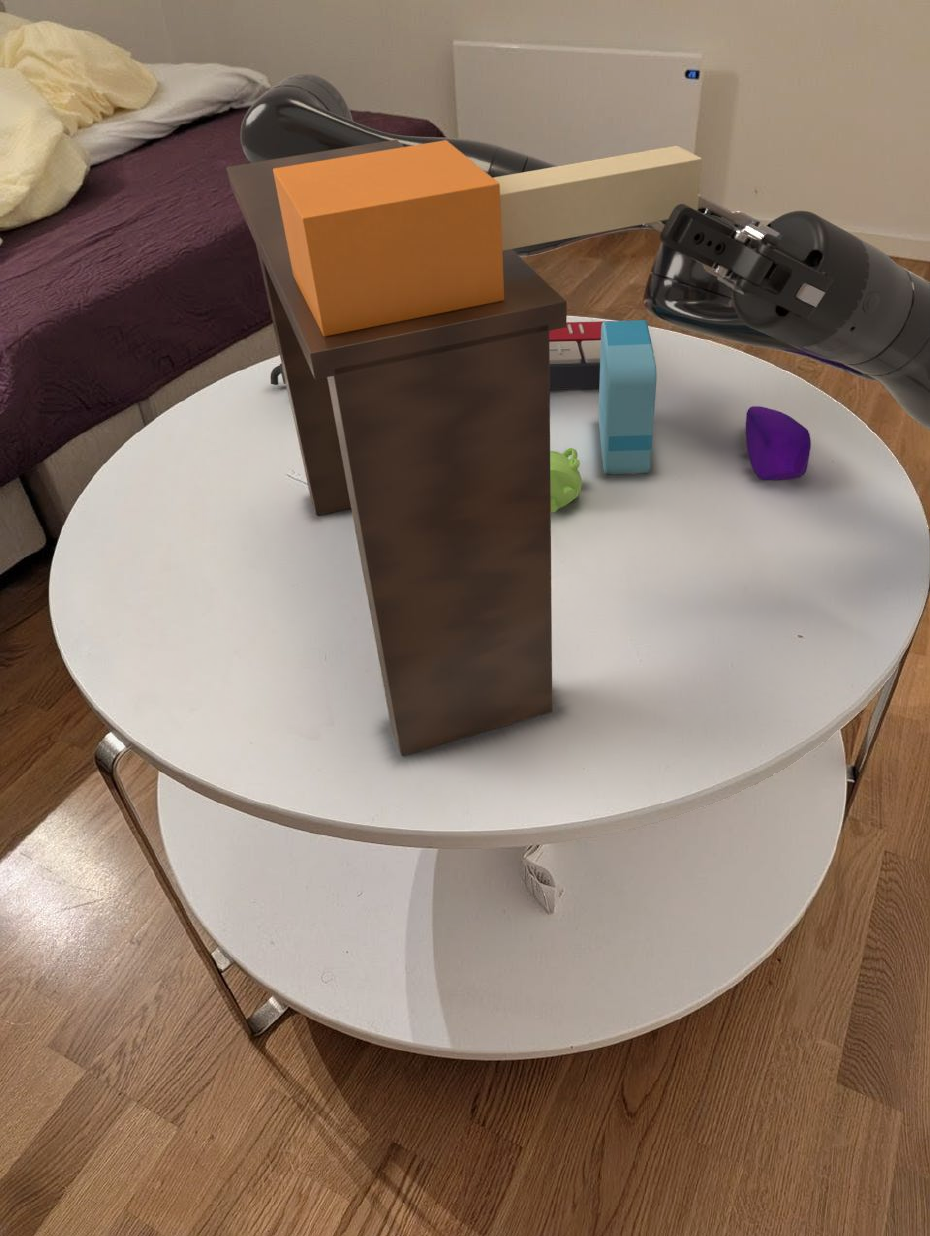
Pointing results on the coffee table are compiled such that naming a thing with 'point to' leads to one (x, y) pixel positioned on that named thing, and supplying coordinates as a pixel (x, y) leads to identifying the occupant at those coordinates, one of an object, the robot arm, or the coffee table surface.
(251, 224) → the shelf
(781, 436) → the crystal
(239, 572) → the coffee table surface
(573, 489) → the whimsical teapot
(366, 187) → the toy hammer
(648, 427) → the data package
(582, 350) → the calculator
